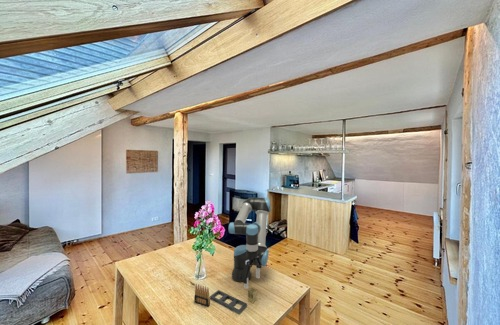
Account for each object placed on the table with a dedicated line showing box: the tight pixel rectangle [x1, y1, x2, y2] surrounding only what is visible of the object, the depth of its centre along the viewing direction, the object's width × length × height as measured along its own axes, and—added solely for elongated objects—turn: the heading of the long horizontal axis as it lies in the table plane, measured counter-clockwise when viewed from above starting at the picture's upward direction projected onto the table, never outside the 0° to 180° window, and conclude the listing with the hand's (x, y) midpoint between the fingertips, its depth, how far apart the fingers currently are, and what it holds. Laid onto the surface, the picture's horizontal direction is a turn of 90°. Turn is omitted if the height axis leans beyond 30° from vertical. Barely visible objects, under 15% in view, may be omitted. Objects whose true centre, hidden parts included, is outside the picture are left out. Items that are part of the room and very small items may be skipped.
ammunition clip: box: [193, 283, 211, 308], centre depth 128 cm, size 11×2×12 cm, turn 67°
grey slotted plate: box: [209, 289, 248, 315], centre depth 129 cm, size 8×24×2 cm, turn 56°
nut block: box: [247, 287, 258, 305], centre depth 130 cm, size 4×4×7 cm
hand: (252, 282), depth 130 cm, fingers open, 13 cm apart
